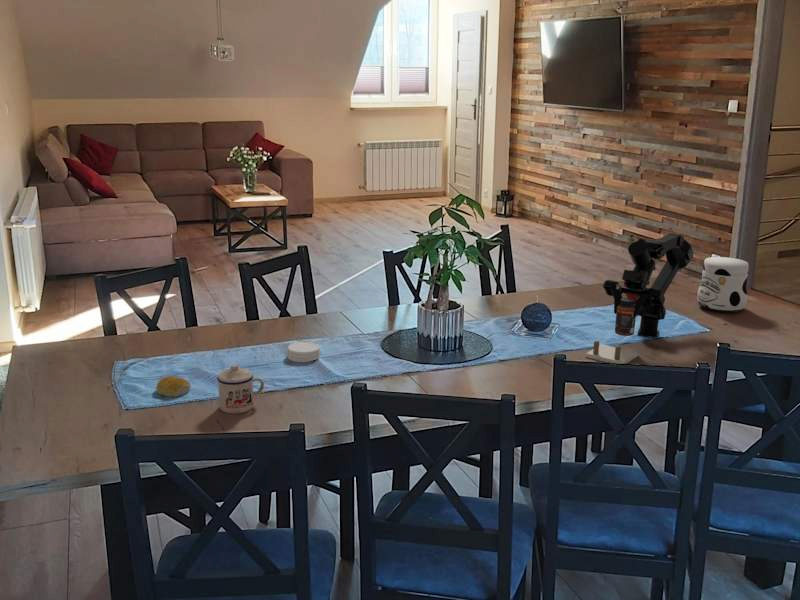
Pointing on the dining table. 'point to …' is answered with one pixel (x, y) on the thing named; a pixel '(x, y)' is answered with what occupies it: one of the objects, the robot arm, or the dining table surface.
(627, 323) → the supplement bottle
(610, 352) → the pegboard
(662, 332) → the dining table surface
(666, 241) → the robot arm
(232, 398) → the teacup with lid
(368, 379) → the dining table surface
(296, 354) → the white short cylinder
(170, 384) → the bread roll
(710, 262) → the milk container
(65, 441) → the dining table surface
